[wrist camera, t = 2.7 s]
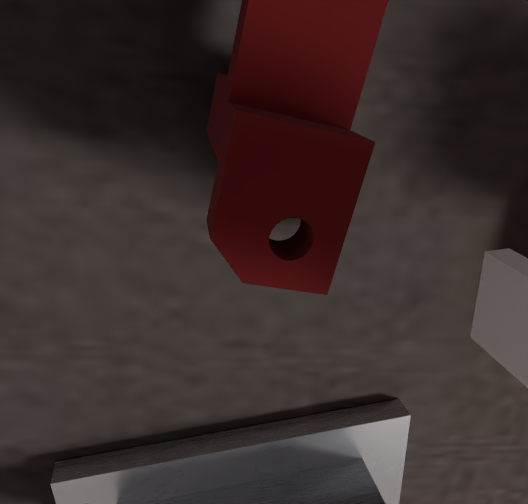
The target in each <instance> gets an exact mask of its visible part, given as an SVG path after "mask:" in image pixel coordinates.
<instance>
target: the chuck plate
mask: <svg viewBox="0 0 528 504" xmlns="http://www.w3.org/2000/svg"><path fill="white" fill-rule="evenodd" d="M410 416H411V415H410V414H409V412H408V411H407V409H406V408H405V406H404V405H403V404H402V402H401V401H400V399H396V400H391V401H386V402H380V403H375V404H369V405H364V406H358V407H353V408H347V409H342V410H336V411H331V412H325V413H320V414H315V415H309V416H304V417H298V418H293V419H287V420H282V421H276V422H271V423H265V424H260V425H254V426H249V427H244V428H238V429H233V430H227V431H222V432H216V433H211V434H205V435H200V436H194V437H189V438H183V439H178V440H173V441H167V442H162V443H156V444H151V445H145V446H140V447H134V448H129V449H123V450H118V451H112V452H107V453H102V454H96V455H91V456H85V457H80V458H74V459H69V460H63V461H58V462H55V465H54V470H53V474H52V479H51V488H52V491H53V495H54V498H55V502H56V504H399V499H400V491H401V484H402V476H403V469H404V461H405V454H406V446H407V439H408V431H409V424H410Z"/></svg>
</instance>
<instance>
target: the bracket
mask: <svg viewBox="0 0 528 504" xmlns="http://www.w3.org/2000/svg"><path fill="white" fill-rule="evenodd" d="M387 2H388V0H242V4H241V9H240V14H239V19H238V24H237V30H236V35H235V40H234V45H233V50H232V55H231V60H230V65H229V70H228V74H225V73H220V72H217V77H216V83H215V88H214V93H213V99H212V104H211V109H210V114H209V120H208V125H207V130H206V132H207V134H208V137H209V140H210V142H211V145H212V148H213V150H214V153H215V155H216V158H217V161H218V166H217V171H216V176H215V181H214V186H213V191H212V196H211V201H210V206H209V210H208V215H207V225H208V230H209V236H210V239H211V241H212V242H213V243H214V245H215V246H216V247H217V249H218V250H219V251H220V253H221V254H222V255H223V257H224V258H225V259H226V261H227V262H228V264H229V265H230V266H231V268H232V269H233V270H234V272H235V273H236V274H237V276H238V277H239V278H240V280H241V281H242V282H243V283H246V284H253V285H260V286H268V287H275V288H282V289H289V290H297V291H304V292H311V293H318V294H326V295H327V294H328V291H329V287H330V284H331V281H332V278H333V275H334V272H335V268H336V265H337V262H338V259H339V256H340V253H341V249H342V246H343V243H344V240H345V237H346V233H347V230H348V227H349V224H350V221H351V218H352V214H353V211H354V208H355V205H356V202H357V198H358V195H359V192H360V189H361V186H362V183H363V179H364V176H365V173H366V170H367V167H368V164H369V160H370V157H371V154H372V151H373V148H374V144H375V142H374V141H372V140H369V139H367V138H365V137H363V136H361V135H359V134H357V133H355V132H353V131H350V128H351V125H352V122H353V118H354V115H355V111H356V108H357V105H358V101H359V98H360V94H361V91H362V88H363V84H364V81H365V77H366V74H367V71H368V67H369V64H370V60H371V57H372V53H373V50H374V47H375V43H376V40H377V36H378V33H379V30H380V26H381V23H382V19H383V16H384V13H385V9H386V6H387ZM287 218H299V219H301V223H300V227H299V229H298V231H297V232H296V233H295V234H294V235H293V236H292V237H290V238H289V239H286V240H283V241H276V240H271V239H270V238H269V236H270V233H271V231H272V229H273V228H274V227H275V225H276V224H277V223H279V222H280V221H282V220H284V219H287Z"/></svg>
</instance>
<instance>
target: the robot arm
mask: <svg viewBox="0 0 528 504" xmlns="http://www.w3.org/2000/svg"><path fill="white" fill-rule="evenodd" d="M470 337H471V338H472V339H473V340H474V341H475V342H476V343H477V344H479V345H480V346H481V347H482V348H483V349H484V350H485V351H486V352H488V353H489V354H490V355H491V356H492V357H493V358H494V359H495V360H497V361H498V362H499V363H500V364H501V365H502V366H503V367H504V368H506V369H507V370H508V371H509V372H510V373H511V374H512V375H514V376H515V377H516V378H517V379H518V380H519V381H520V382H521V383H523V384H524V385H525V386H526V387H527V388H528V258H526V257H525V256H523V255H521V254H519V253H517V252H515V251H514V250H512V249H510V248H508V249H500V250H492V251H485V254H484V260H483V266H482V272H481V277H480V283H479V289H478V295H477V301H476V307H475V312H474V318H473V324H472V330H471V336H470Z"/></svg>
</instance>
